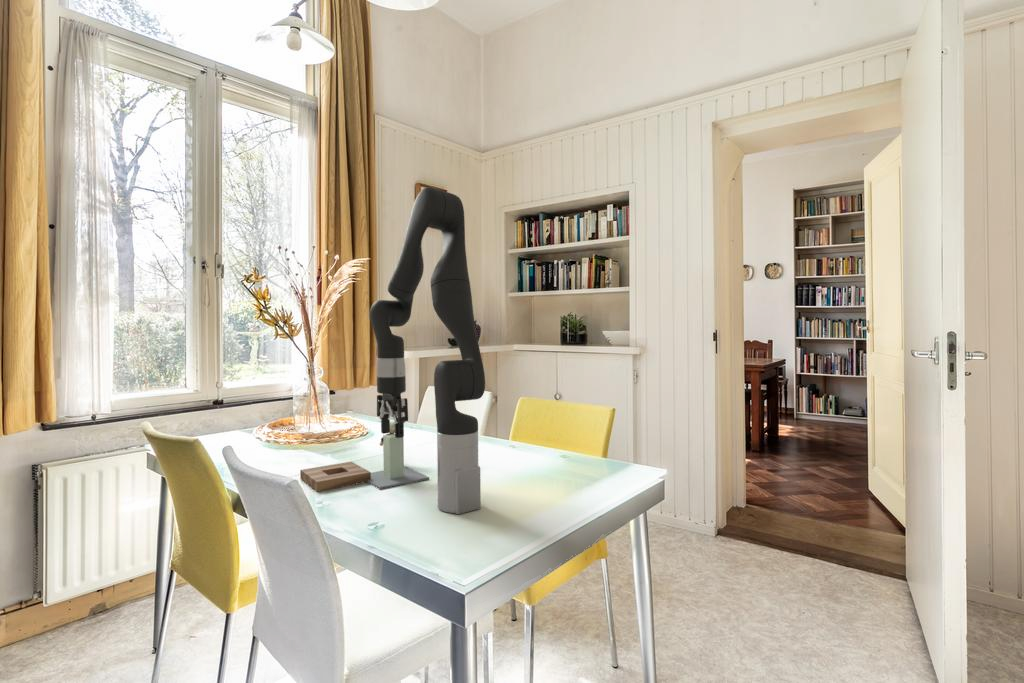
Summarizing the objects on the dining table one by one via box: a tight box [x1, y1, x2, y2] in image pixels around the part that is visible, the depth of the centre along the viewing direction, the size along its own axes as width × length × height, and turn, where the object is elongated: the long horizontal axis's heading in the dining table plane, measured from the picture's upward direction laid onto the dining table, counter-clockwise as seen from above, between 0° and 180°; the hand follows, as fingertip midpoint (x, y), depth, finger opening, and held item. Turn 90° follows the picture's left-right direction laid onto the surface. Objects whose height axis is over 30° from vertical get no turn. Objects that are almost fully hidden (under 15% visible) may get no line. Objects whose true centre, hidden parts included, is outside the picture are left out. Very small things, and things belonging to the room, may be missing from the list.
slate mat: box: [366, 465, 430, 490], centre depth 143 cm, size 14×14×1 cm
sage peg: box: [383, 433, 405, 479], centre depth 143 cm, size 4×4×11 cm
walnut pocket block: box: [299, 461, 372, 493], centre depth 141 cm, size 14×14×2 cm
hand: (392, 435), depth 142 cm, fingers open, 8 cm apart
